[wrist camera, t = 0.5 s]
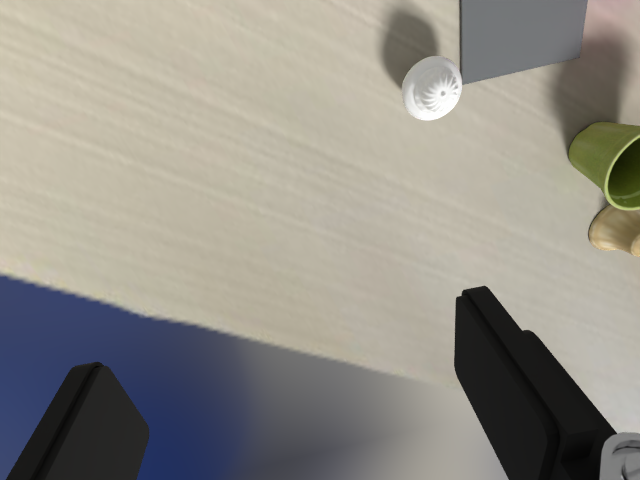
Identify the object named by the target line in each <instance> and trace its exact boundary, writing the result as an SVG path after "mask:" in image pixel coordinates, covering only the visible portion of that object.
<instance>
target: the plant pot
mask: <svg viewBox="0 0 640 480" xmlns="http://www.w3.org/2000/svg"><path fill="white" fill-rule="evenodd" d="M569 159H570V161H571V163H572V165H573V167H574V168H576V169H577V170H578V171H580V172H581V173H582V174H583V175H585V176H586V177H587V178H588V179H590V180H591V181H592V182H593V183H595V184H596V185H597V186H598V187H599V188H601V190H602V192H603V193H604V195H605V198H606V199H607V201H608V202H609V203H610V204H611V205H612V206H614V207H616V208H618V209H622V210H638V209H640V126H634V125H626V124H618V123H610V122H597V123H594V124H591V125H590V126H589V127H588V128H586V129H585V130H583V131H582V132H580V133H579V134H578V135H577V136H576V137H575V139H574V140H573V142H572V144H571V146H570V149H569Z"/></svg>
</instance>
